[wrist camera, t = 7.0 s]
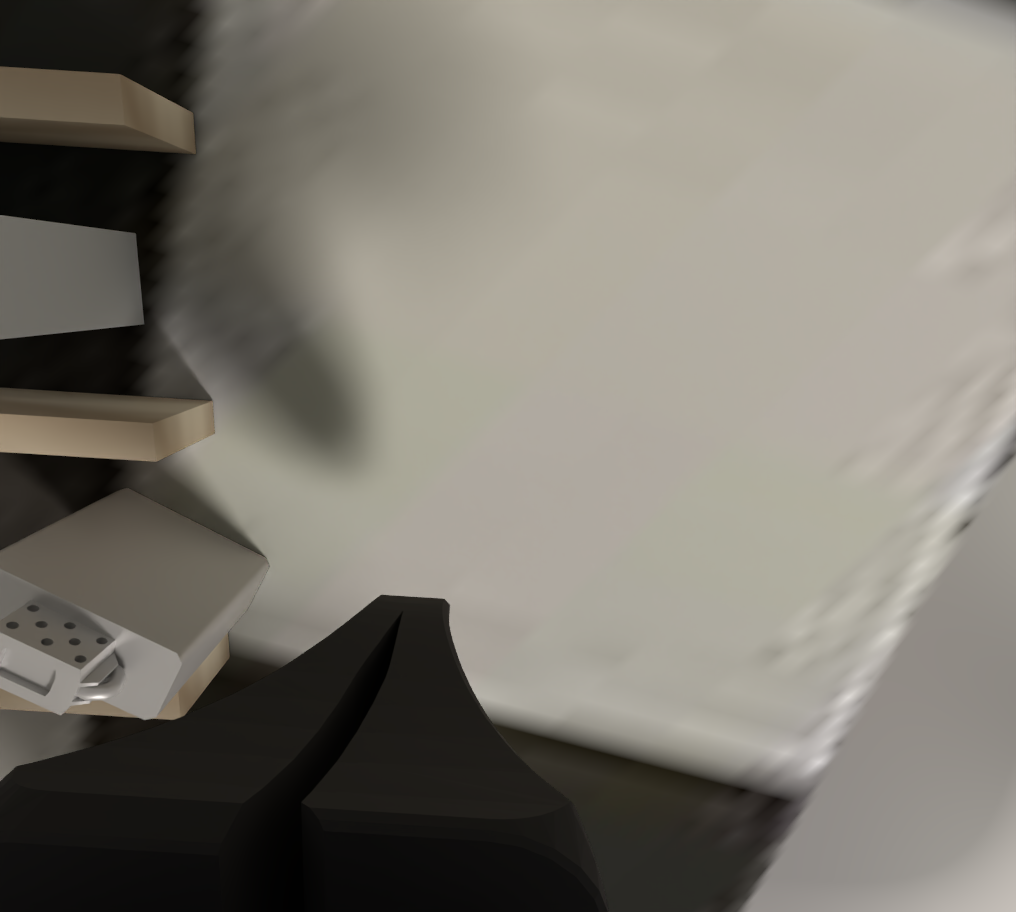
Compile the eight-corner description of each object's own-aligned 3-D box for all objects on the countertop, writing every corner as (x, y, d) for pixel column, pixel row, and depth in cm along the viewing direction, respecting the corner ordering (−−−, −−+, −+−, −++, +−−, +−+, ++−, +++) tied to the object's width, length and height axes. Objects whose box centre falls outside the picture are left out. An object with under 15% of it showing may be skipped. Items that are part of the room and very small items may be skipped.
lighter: (272, 561, 16) (38, 819, 8) (246, 612, 16) (0, 906, 9) (6, 426, 15) (-533, 573, 7) (-15, 485, 15) (-546, 682, 8)
